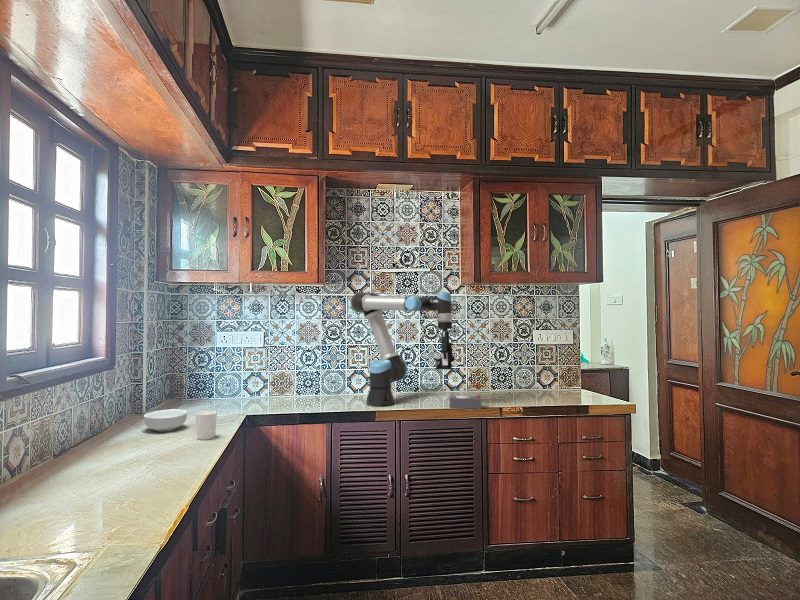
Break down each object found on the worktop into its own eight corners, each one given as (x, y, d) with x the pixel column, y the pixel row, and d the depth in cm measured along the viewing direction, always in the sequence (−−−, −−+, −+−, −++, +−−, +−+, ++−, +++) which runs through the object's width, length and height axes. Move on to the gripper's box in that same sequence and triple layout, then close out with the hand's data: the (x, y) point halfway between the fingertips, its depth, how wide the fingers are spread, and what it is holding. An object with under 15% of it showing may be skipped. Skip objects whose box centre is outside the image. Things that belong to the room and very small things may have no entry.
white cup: (198, 441, 193) (198, 415, 194) (193, 437, 200) (193, 412, 200) (219, 438, 198) (219, 413, 198) (213, 434, 204) (213, 409, 205)
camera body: (449, 407, 257) (449, 396, 257) (450, 405, 265) (450, 394, 265) (480, 409, 254) (480, 397, 254) (481, 406, 262) (481, 395, 262)
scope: (439, 342, 269) (456, 342, 265) (439, 368, 268) (457, 368, 264) (433, 343, 261) (451, 342, 257) (434, 369, 260) (452, 369, 256)
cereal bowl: (135, 430, 210) (135, 414, 210) (172, 423, 224) (172, 407, 224) (157, 436, 201) (158, 419, 201) (194, 428, 215) (194, 412, 215)
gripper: (449, 321, 252) (451, 366, 251) (453, 321, 272) (455, 362, 271) (435, 321, 253) (436, 366, 253) (440, 321, 274) (441, 362, 273)
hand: (446, 364), depth 262 cm, fingers closed on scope, 8 cm apart
